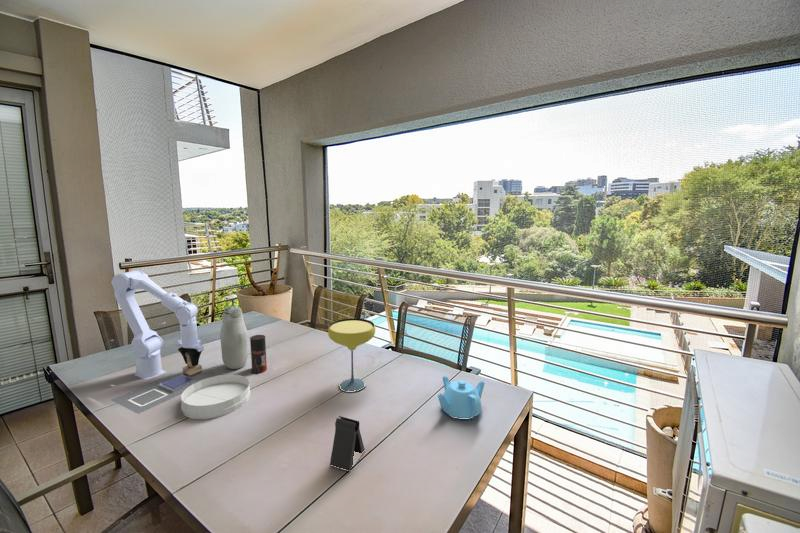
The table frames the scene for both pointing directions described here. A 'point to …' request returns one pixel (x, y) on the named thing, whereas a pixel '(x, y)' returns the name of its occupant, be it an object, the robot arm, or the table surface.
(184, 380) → the ink pad
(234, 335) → the glass bottle
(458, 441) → the table surface
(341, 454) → the phone stand
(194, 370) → the stamp
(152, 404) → the desk mat
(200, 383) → the dish
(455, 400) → the teapot
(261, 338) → the deodorant
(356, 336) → the cocktail glass
